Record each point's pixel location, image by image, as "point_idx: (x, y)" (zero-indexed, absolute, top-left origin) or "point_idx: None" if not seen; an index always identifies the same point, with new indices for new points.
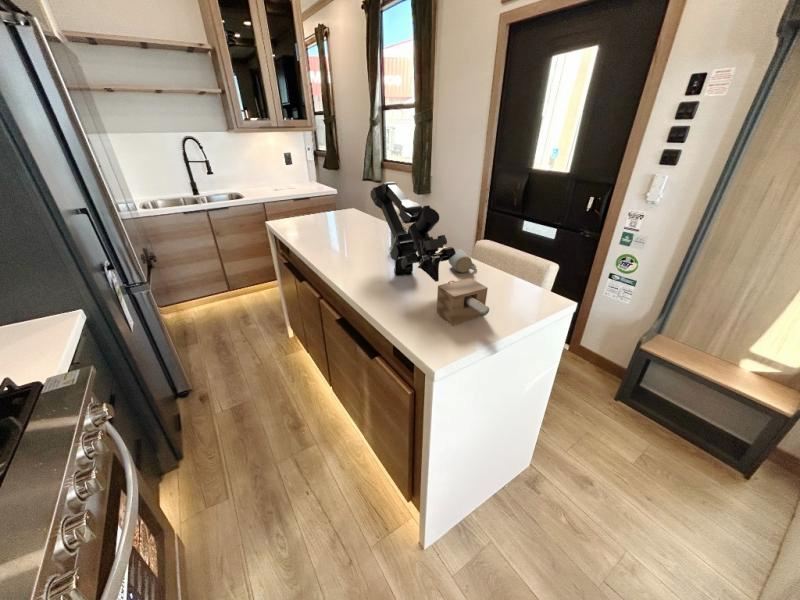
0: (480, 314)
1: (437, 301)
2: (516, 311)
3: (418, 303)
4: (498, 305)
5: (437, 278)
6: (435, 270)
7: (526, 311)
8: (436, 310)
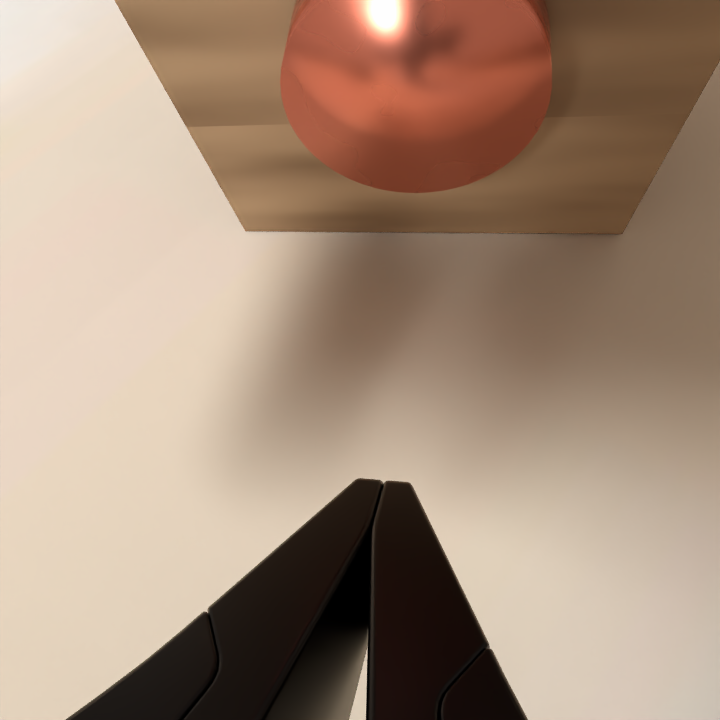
0: None
1: (682, 116)
2: (53, 26)
3: (716, 513)
4: (62, 122)
5: (372, 496)
6: (313, 649)
7: (9, 7)
8: (634, 211)
